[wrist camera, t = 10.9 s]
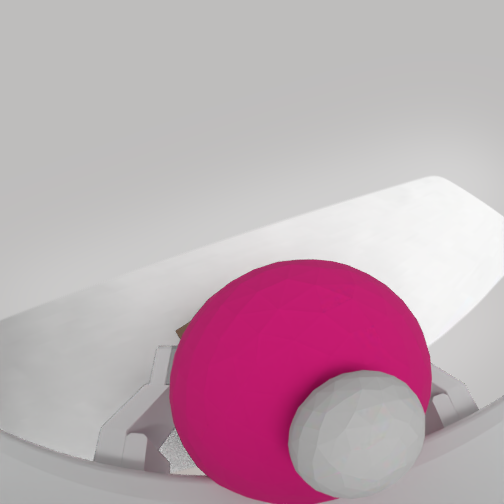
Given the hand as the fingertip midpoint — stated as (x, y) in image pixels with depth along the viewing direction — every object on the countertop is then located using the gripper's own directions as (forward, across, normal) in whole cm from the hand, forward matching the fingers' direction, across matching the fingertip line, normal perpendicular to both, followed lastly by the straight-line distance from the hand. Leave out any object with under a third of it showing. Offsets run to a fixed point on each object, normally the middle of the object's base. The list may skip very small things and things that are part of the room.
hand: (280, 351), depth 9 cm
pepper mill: (+9, 0, +10) cm, 13 cm away
